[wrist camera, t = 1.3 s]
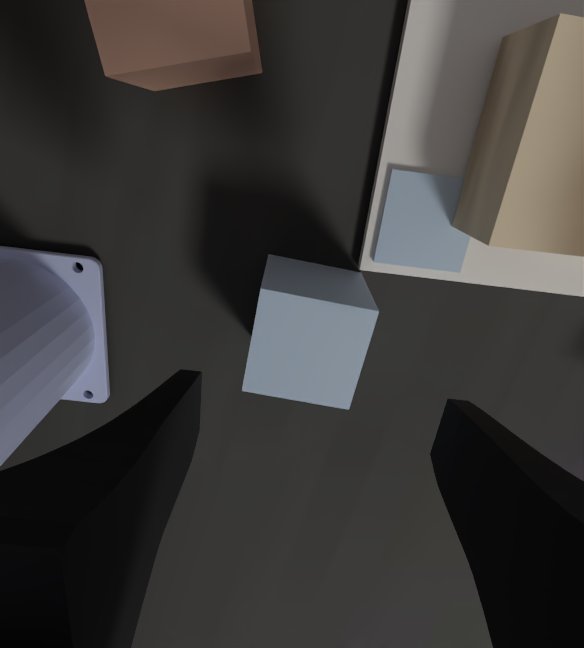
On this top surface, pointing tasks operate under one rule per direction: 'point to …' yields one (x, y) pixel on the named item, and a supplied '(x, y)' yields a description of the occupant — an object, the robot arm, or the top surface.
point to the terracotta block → (175, 41)
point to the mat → (450, 149)
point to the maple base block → (530, 144)
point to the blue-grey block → (309, 333)
